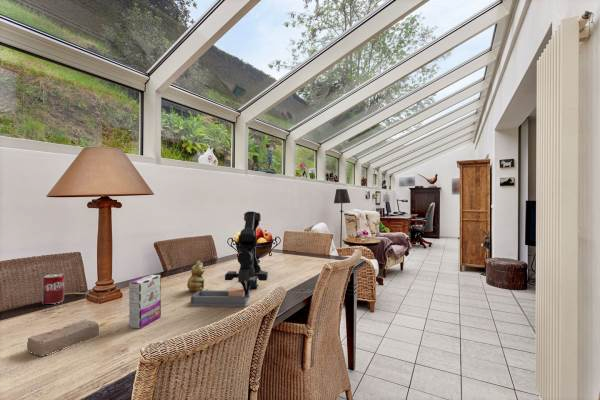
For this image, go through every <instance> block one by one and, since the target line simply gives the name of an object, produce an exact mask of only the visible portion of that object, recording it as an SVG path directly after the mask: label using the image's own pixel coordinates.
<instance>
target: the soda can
mask: <svg viewBox="0 0 600 400" xmlns="http://www.w3.org/2000/svg"><path fill="white" fill-rule="evenodd" d="M41 291H42V293H41V294H42V296H41V297H42V298H41V300H42V302H41V303H42V304H43V305H44V304H54V305H57V304H56V303H58V304H60V302H61V303H63V301H64V300H65V274H64V273H51V274H46V275H44V276H43V277H42V290H41Z"/></svg>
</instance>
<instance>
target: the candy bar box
mask: <svg viewBox="0 0 600 400" xmlns="http://www.w3.org/2000/svg"><path fill="white" fill-rule="evenodd" d="M161 280H162V278H161V275H160V274H149V275H146V276H144V277H141V278H138V279H136V280H132V281H130V282H129V283H128V285H129V286H128V288H129V289H128V291H129V292H128V294H129V295H128V297H129V298H128V300H129V301H128V302H129V305H128V306H129V308H128V309H129V310H128V311H129V312H128V314H129V319H128V320H129V326H128V327H129V329H130V328H131V329H142V328H144V327H146V326H147V325H149V324H151V323H153V322H154V321H156V320H158V319H159V318H161V317H162V314H161V313H162V307H161V305H162V298H161V297H162V294H161V293H162V291H161V290H162V287H161V286H162V285H161V283H162V281H161Z"/></svg>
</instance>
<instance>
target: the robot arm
mask: <svg viewBox="0 0 600 400" xmlns="http://www.w3.org/2000/svg"><path fill="white" fill-rule="evenodd" d="M261 219H262V216H261V213H259V212H257V211H255V210H254V211H248V210H247V211H246V212H244V213H243V220H244V222H245V223H244V228H243V229H242V230H241V231H240V234H238V239H237V248H236V249H237V250H240V253H239V254H238V255H237V257H236V259H237V262H238V263H239V264H240V266H239V270H238V272H237V271H235V270H234V271H233V270H229V271H227V272H226V273H225V275H224V281H232V280H234V279H235V278H236V279H237V282H238V283H240V284H241V286H242V288H243V289H244V292H245V295H248V292H249V293H250V290H256V289H258V287H259V284H258V281H263V282H264V281H267V280H268V278H269V272H268V271H262V269H261V266H260V264H259V260H258V258H257V256H256V255H257V254H256V253H257V252H256V251H257V247H258V245H257V244H258V237H257V229H258V227H259V226H260V222H261V221H262V220H261Z"/></svg>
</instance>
